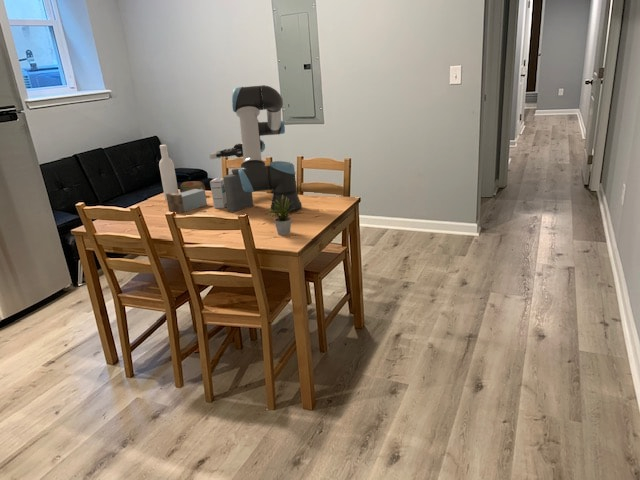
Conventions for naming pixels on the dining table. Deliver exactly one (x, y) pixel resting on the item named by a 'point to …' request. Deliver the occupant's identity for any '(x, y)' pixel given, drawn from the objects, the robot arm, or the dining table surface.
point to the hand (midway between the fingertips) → (210, 156)
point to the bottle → (167, 172)
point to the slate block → (193, 199)
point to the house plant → (282, 217)
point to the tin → (191, 186)
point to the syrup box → (218, 193)
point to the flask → (236, 193)
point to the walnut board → (175, 202)
